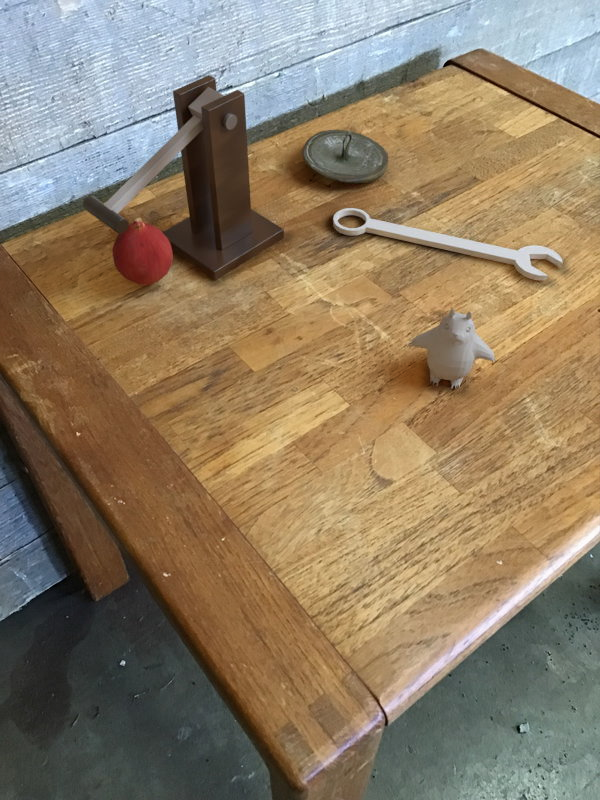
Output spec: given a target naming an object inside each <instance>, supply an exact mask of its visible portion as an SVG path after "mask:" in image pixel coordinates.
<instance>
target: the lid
mask: <svg viewBox="0 0 600 800" xmlns="http://www.w3.org/2000/svg"><path fill="white" fill-rule="evenodd" d="M301 156H302V158H303V160H304V162H305V163H306V165H307V166H308V167H309V168H310V169H311V170H313V171H314V172H315V173H317V174H319V175H320V176H323V177H325V178H327V179H328V180H332V181H336V182H340V183H346V184H364V183H371V182H373V181H376V180H378V179H380V178H382V177H383V175H385V174H386V171H387V170H388V167H389V165H388V164H389V153H388V152H387V150H386V149H385V148H384V146H382V145H381V144H380V143H379V142H377V141H375V140H374V139H373V138H371V137H370V136H367V135H364V134H362V133H358V132H355V131H351V130H344V129H327V130H321V131H318V132H316V133H315V134H313V135H311V136H310V137H309V138H308V139H307V140H306V141H305V143H304V145H303V147H302V151H301Z"/></svg>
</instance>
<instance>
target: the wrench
mask: <svg viewBox="0 0 600 800" xmlns="http://www.w3.org/2000/svg"><path fill="white" fill-rule="evenodd" d="M346 216H356V217H359V218H361V219H363V221H364V222H365V223H364V224H363V225H361V226H358V227H346V226H344V225H342V224H340V222H339V220H340V219H341V218H343V217H346ZM332 225H333V228H334V230H336V231H337V232H338V233H340V234H342V235H345V236H360V235H363V234H365V233H369V234H374V235H377V236H381V237H386V238H391V239H395V240H399V241H404V242H410V243H413V244H418V245H423V246H426V247H427V246H428V247H432V248H436V249H441V250H446V251H449V252H453V253H454V252H455V253H459V254H464V255H467V256H472V257H476V258H481V259H485V260H490V261H494V262H499V263H504V264H508V265H512V266H514V268H515V270H516V271H517V272H518V273H519V274H520V275H522V276H524V277H525V278H528V279H530V280H535V281H544V282H545V281H547V280H548V276H549V275H548V274H546V273H545V272H543V271H541V270H540V269H538V268H536V267H535V266H533V265H532V262H531V260H546V261H548V262H550V263H552V264H553V265H555V266H557V267H559V268H560V269H562V267H563V264H564V261H563V259H562V256H560V254H559V253H558V252H556V251H555V250H553V249H552V248H549V247H547V246H543V245H539V244H538V245H537V244H536V245H535V244H534V245H533V244H531V245H526V246H523V247H521V248H519V249H518V250H517V249H512V248H509V247H503V246H499V245H494V244H489V243H485V242H480V241H476V240H471V239H467V238H463V237H459V236H458V237H457V236H453V235H449V234H444V233H439V232H434V231H431V230H426V229H421V228H417V227H412V226H407V225H402V224H397V223H395V222H394V223H393V222H388V221H384V220H379V219H376V218H375V219H374V218H371V217H370V215H369V214H368V212H366V211H365V210H362V209H360V208H356V207H355V208H354V207H345V208H342V209H340V210H338V211H336V213H334V215H333V218H332Z"/></svg>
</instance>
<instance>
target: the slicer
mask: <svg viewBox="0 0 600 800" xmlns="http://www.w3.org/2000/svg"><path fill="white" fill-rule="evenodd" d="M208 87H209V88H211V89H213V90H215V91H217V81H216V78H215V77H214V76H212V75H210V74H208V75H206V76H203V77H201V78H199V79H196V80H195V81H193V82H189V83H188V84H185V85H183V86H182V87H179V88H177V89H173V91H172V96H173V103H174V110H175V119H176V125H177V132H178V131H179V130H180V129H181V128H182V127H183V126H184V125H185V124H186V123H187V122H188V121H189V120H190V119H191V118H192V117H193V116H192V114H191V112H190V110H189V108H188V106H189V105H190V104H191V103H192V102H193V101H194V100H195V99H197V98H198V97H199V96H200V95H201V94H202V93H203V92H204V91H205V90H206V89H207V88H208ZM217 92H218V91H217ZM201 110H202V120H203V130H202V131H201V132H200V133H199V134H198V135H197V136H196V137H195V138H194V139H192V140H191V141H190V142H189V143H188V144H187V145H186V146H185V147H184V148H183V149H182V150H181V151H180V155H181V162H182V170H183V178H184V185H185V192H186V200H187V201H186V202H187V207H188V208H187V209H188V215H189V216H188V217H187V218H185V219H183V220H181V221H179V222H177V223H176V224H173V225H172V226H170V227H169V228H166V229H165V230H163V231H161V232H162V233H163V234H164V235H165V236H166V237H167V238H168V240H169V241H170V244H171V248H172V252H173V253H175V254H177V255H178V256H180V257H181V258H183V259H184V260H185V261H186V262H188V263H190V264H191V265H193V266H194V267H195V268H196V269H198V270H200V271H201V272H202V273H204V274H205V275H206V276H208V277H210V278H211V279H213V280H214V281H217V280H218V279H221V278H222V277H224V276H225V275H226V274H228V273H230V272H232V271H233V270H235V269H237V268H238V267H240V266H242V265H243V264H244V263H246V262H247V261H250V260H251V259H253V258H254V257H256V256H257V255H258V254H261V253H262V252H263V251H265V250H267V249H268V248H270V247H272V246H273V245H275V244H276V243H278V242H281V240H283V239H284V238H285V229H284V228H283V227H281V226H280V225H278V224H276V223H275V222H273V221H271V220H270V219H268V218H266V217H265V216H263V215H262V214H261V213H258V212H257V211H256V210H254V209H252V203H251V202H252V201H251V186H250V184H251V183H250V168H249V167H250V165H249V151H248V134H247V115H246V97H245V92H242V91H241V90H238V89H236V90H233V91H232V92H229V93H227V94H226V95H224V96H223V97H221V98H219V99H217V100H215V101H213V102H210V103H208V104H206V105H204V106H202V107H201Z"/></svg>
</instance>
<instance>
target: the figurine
mask: <svg viewBox="0 0 600 800" xmlns="http://www.w3.org/2000/svg"><path fill="white" fill-rule="evenodd" d="M448 312H449V313H448V314H446V315H445V316H444V317H442V319H440V322H439V324H438V325H437V326H435V327H433V328H431V329H429V330H427V331H425V332H421V333H420V334H418V335H416V336H415V337H413V338H412V340H411V342H409V343H407V346H408V347H407V349H408V350H409V349H410V348H412V347H414V348H419V349H420V348H421V349H425V350H427V351H426V352H427V353H426V362H427V367H428V369H429V378H430V379H429V380H430V381H429V383H430V384H431V383H432V385H433V386H434V385H435V383H436V386H438V385H439V383H440V381H441V380H446V381H450V385H451V388H450V389H451V390H453V387H454V389H455V390H456V389H457V387H458V389H460V387H461V384H462V382H463V380H464V377H466V376H467V375H468V374H469V373H470V372H471V370H472V369H473V366H474V363H475V361H476V359H480V360H481V359H482V360H486V361H491V363H493V364H495V362H497V358H495V353H494V351H493V349H491V348H490V346H489V345H488V344H487V343H486V342H485V341H484V340H483V339H482V338H481V337H480V336H479V334H478V333H476V326H475V322H474V320H473V319H472V312H471V311H468V312H467V313H466V314H465V313H462V312H455V309H454V308H451V309H450V310H449V311H448Z"/></svg>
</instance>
